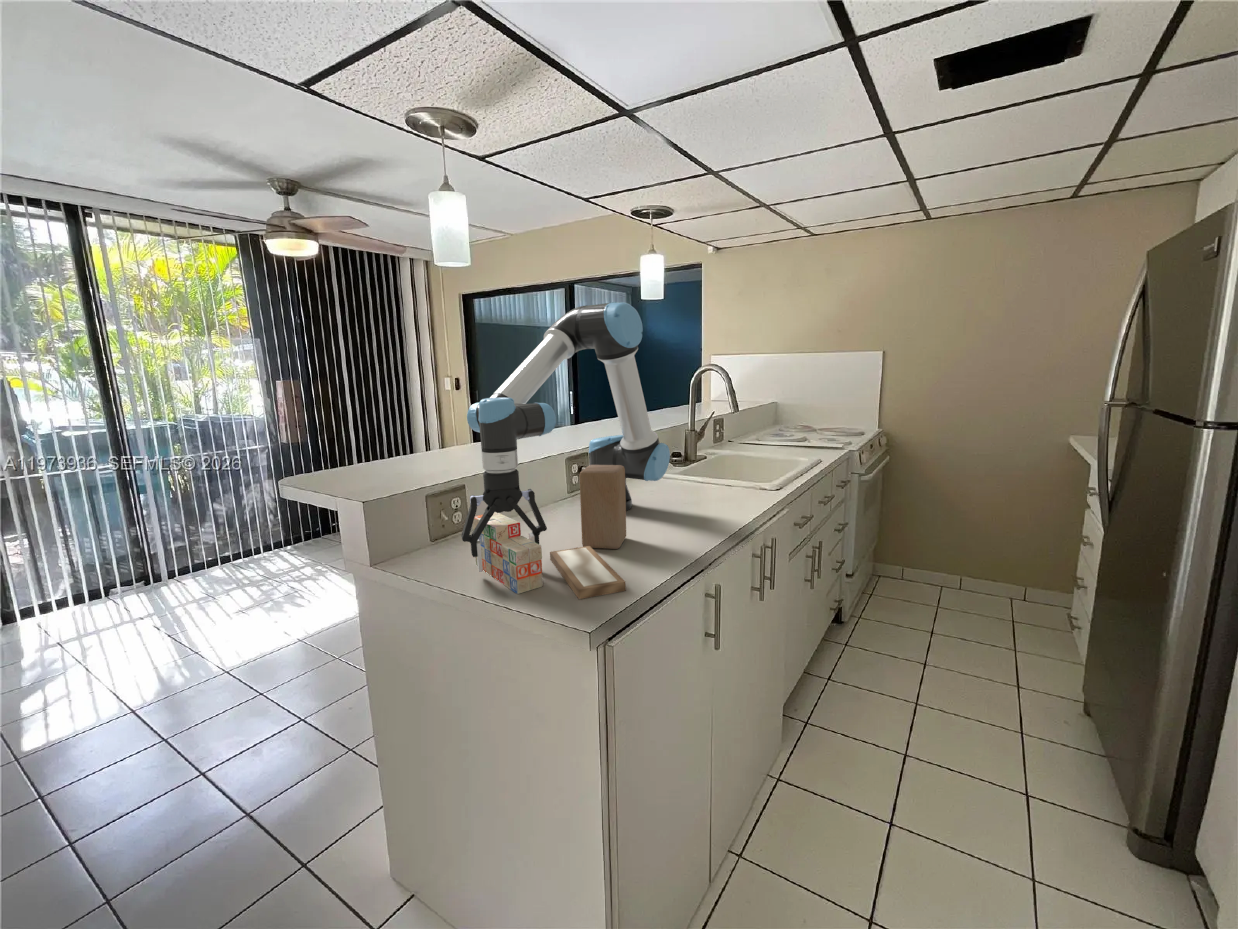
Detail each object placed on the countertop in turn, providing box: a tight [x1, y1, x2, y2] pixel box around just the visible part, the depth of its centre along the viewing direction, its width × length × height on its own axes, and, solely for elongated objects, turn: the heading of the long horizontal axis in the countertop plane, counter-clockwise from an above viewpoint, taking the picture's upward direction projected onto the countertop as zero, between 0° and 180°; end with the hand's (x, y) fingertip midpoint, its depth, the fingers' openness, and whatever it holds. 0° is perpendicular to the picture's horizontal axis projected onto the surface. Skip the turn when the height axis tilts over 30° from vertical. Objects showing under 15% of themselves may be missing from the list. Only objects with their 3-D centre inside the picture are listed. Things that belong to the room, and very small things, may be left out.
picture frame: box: [549, 546, 627, 600], centre depth 120 cm, size 10×24×2 cm, turn 21°
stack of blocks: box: [472, 512, 544, 595], centre depth 119 cm, size 21×6×12 cm, turn 38°
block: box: [578, 465, 627, 550], centre depth 138 cm, size 10×10×20 cm
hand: (507, 565), depth 120 cm, fingers open, 11 cm apart
